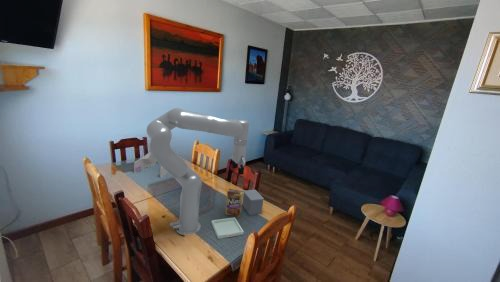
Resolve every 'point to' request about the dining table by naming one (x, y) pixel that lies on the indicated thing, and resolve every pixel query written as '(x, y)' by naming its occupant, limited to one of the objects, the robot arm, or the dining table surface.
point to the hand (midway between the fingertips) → (237, 171)
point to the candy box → (234, 202)
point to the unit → (252, 202)
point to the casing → (147, 164)
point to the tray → (227, 228)
